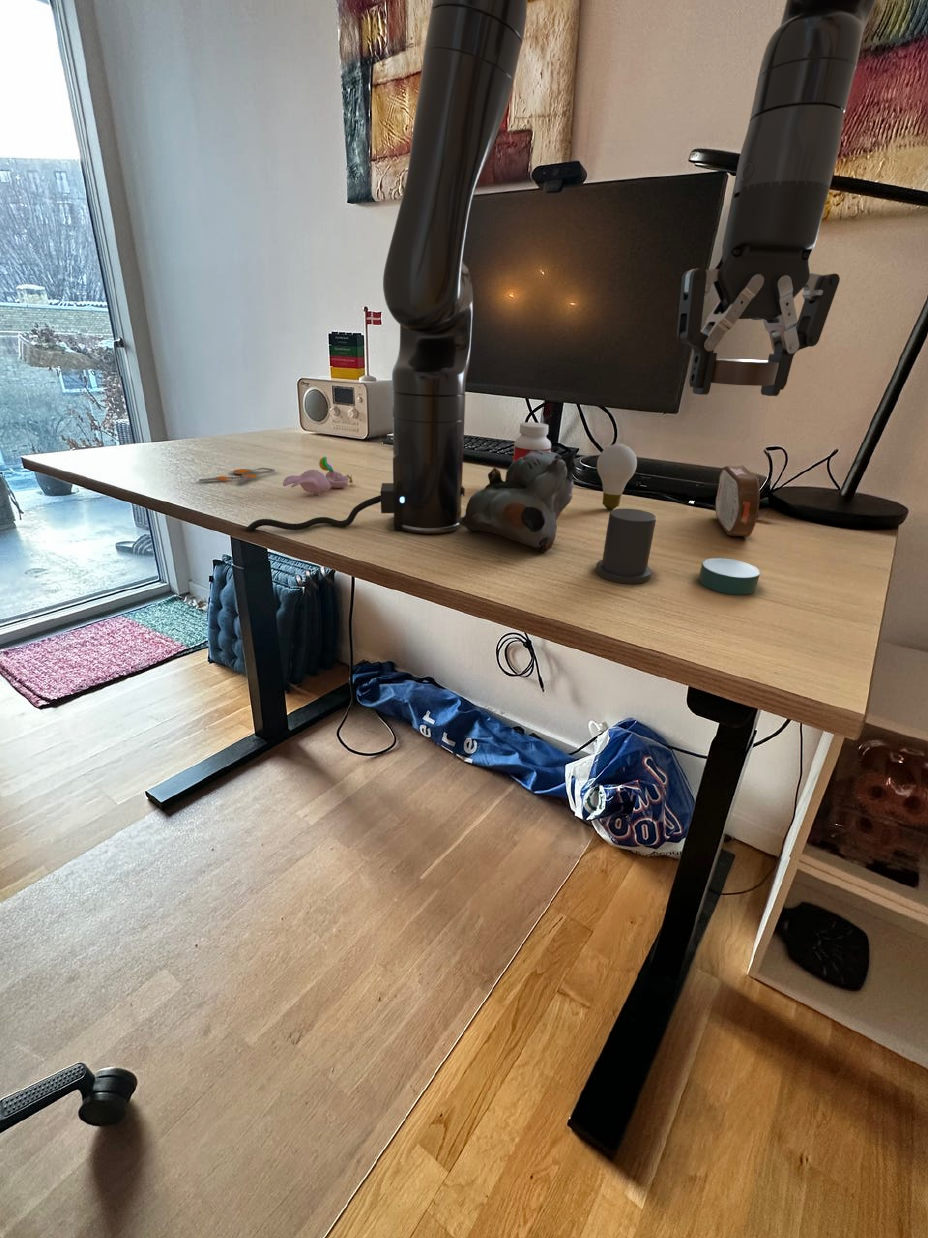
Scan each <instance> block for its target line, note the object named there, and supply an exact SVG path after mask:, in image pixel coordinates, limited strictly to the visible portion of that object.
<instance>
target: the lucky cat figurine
mask: <svg viewBox="0 0 928 1238" xmlns="http://www.w3.org/2000/svg"><path fill="white" fill-rule="evenodd" d="M575 457H576V451H571V452H568V453H566V454H565V455H560V454H558V452H557V453H556V452H554V451H551V452H550V451H541V450H538V451H530V452H529V453H527V454H525V456H524V457H520V458H519V459H518V460H516V461H514V462H513V461H512V463H511V464H510V465H509V466H508V469H507V470H506V473H505V479H504V480H503V478H502V474H501V470H499V469H498V468H496V467H493V468H492V470H490V472H488V474H487V477H488V478H487V479H488V481H489V483H488V484H487V485H485V487H484V488H482V489H480V490H477V491H476V492H474V493H473V494H472V495H471V496H470V498H469V500H468V501H467V503H466V507H465V514H464V516H461V518H460V519H459V520H458V523H459V524H460V525H461V526H462V527H463V528H466V529H467V531H469V532H473V531H480V532H486V533H492V534H496V535H499V536H502V537H505V538H507V539H510V540H512V541H516V542H517V543H521V544H523V545H525V546H526V545H527V546H530V547H533V548H534V549H536V550H538V551H539V552H541V553H547V552H548V551H549V550H550V549H552V547H553V545H554V542H555V540H556V534H557V529H558V528H557V527H558V525H557V521H558V519H559V517H560V515H561V513H562V512H563V511H564V510H565V509H566V507H567V506H568V505H569V504H570V503H571V501H572V499H573V497H574V496H573V488H574V485H575V484H574V483H575V482H574V480H573V476H574V472H575V469H576V463H575Z"/></svg>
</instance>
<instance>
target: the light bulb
mask: <svg viewBox="0 0 928 1238" xmlns="http://www.w3.org/2000/svg"><path fill="white" fill-rule="evenodd" d="M637 466H638V460H637V455H636V453H635V452H634V450H633V449H632V448H631V447H629V446H628V445H626V444H622V443H616V444H615V443H613V444H611V445H609V446H607V447H606V448H604V449H603V450H602V451H601V452H600V454H599V456H598V458H597V462H596V470H597V473H598V476H599V478H600V481H601V484H602V491H603V492H602V503H601V504H602V505H603V506H604V507H605V508H606V509H607V510H608V511H612V510H615V509H617V508H618V507H619V506H620V503H621V497H622V494H623V492H624V491H625V488H626V485H627V483H628V482H629V481H630V479H632V477H633V476H634V474H635V472H636V471H637Z"/></svg>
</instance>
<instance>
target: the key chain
mask: <svg viewBox="0 0 928 1238" xmlns="http://www.w3.org/2000/svg"><path fill="white" fill-rule="evenodd" d="M260 470H263V471H260ZM232 472H233V474H235V475H241V476H224V475H221V476H216V477H207V478H200V479H198V481H199V482H207V481H226V480H233V479H234V480H236V479H239V480H237V481H236V483H237V484H242V483H244V482H246V481H248V480H250V479H254V478H256V475H260V474H261V475H262V474H267V473H273V472H276V470H275V469H274V468H268V467H259V468H256V469H248V468H240V469H239V468H238V469H235V470H233V471H232Z"/></svg>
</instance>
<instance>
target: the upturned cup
mask: <svg viewBox="0 0 928 1238" xmlns="http://www.w3.org/2000/svg"><path fill="white" fill-rule="evenodd" d="M656 522H657V515H655V514H654V513H651V512H649V511H646V510H642V509H637V508H614V509H613V510H609V514H608V520H607V526H606V527H607V528H606V534H605V541H604V548H603V554H602V559H600V560H598V562H597V563H596V564H595V573H596V574H597V575H598V576H599V577H601V578H602V579H604V580H607V581H610V582H613V583H617V584H625V585H637V584H644V583H646V582H648V581H650V580H651V578H652V574H653V573H652V568H651V567H650V566H649V565H648V564H649V560H650V554H651V549H652V543H653V538H654V534H655V533H654V532H655V529H656Z"/></svg>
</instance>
